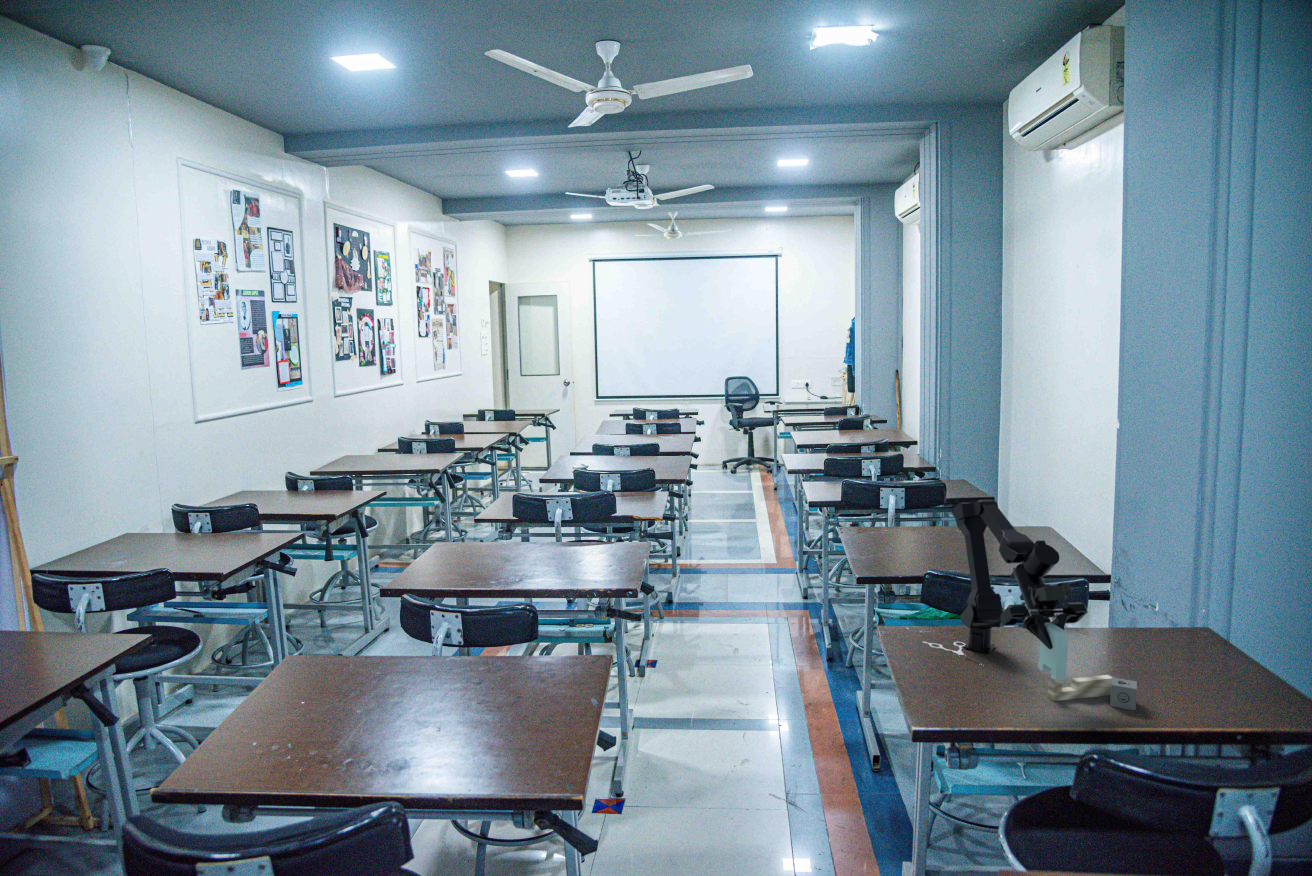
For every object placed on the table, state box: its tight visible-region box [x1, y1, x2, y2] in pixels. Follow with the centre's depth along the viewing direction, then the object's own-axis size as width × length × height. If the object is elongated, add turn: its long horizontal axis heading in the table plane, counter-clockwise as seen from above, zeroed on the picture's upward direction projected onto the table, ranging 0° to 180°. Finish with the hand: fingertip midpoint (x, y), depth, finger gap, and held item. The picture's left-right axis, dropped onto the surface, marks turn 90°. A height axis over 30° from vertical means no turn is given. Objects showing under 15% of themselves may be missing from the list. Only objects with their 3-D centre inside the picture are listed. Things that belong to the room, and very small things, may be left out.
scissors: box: [922, 641, 983, 666], centre depth 225 cm, size 11×1×20 cm
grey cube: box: [1109, 676, 1138, 711], centre depth 195 cm, size 5×5×5 cm
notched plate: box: [1037, 622, 1069, 681], centre depth 196 cm, size 7×2×11 cm, turn 7°
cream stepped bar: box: [1047, 674, 1113, 702], centre depth 199 cm, size 16×2×4 cm, turn 104°
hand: (1056, 648), depth 195 cm, fingers closed on notched plate, 2 cm apart
